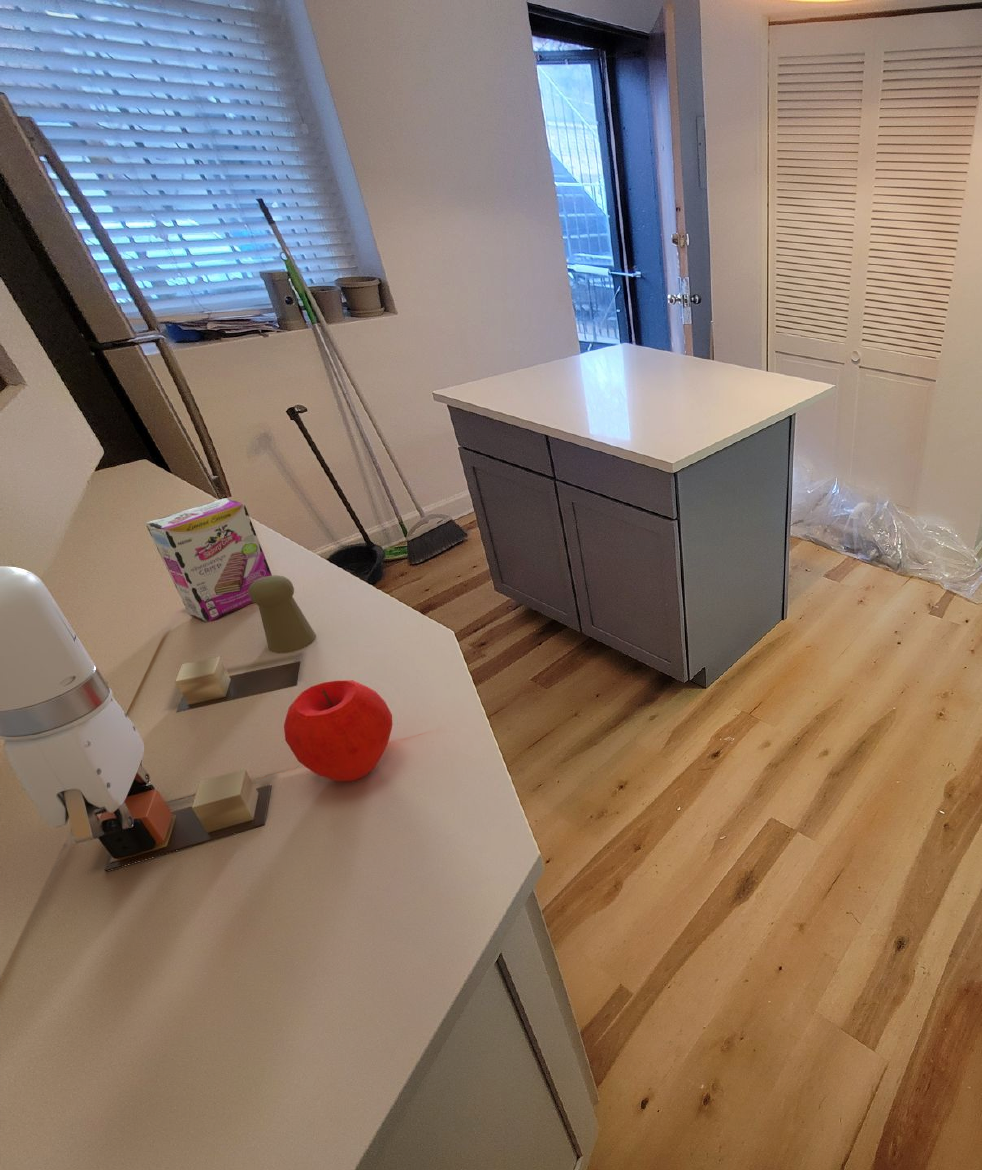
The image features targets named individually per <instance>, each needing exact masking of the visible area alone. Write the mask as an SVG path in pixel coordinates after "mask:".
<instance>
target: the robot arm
mask: <svg viewBox="0 0 982 1170" xmlns="http://www.w3.org/2000/svg"><path fill="white" fill-rule="evenodd" d="M113 696H114V693H113V690H112V689H111V687H110V686H109V684H108V683H107V681H106V680H105V678H104V676H103V675H102V673H101V671H100V670H99V668H98V667H97V665H96V664H95V663H94V661H93V659H92V658H91V656H90V655H89V653H88V652H87V650H86V648H85V647H84V644H83V643H82V642H81V640H80V638H79V637H78V635H77V634H76V632H75V631H74V629H73V628H72V625H71V624H70V623H69V621H68V619H67V618H66V616H65V615H64V613H63V612H62V610H61V608H60V607H59V605H58V604H57V602H56V600H55V599H54V597H53V595H52V594H51V592H50V591H49V589H48V588H47V586H46V585H45V583H44V582H43V581H42V579H41V578H39V577H38V576H37V575H36V574H34V573H33V572H31V571H30V570H27V569H24V568H21V567H15V566H4V565H3V566H0V739H1V740H3V741H4V743H3V749H4V751H5V754H6V757H7V759H8V761H9V764H10V766H11V768H12V770H13V772H14V774H15V776H16V777H17V779H18V781H19V783H20V785H21V786H22V788H23V789H24V791H25V792H26V794H27V796H28V797H29V799H30V800H31V802H32V803H33V805H34V806H35V807H36V809H37V811H38V812H39V813H40V814H41V816H42V818H44V820H45V821H46V823H48V825H50V826H51V827H53V828H56V829H57V828H60V827H62V826H66V825H67V824H68V821H69V823H70V827H71V831H72V837H73V838H74V842H75V843H76V844H81V843H85V842H88V841H89V842H90V841H92V840H96V839H98V841H100V843H101V845H102V846H103V847H104V848H105V849H106V851H107V852H108V853H109V855H110V854H111V856H112V857H113V858H114V859H120V858H123V857H127V856H130V855H134V854H137V853H140V852H144V851H147V850H151V849H153V848H154V847H155V844H156V841H155V840H154V838H153V837H152V836H151V834H150V833H149V831H148V830H147V828H146V827H145V825H144V824H143V823H142V821H141V820H140V818H138V819H133V817H132V815H131V813H130V811H129V810H128V808H127V806H126V804H125V802H124V801H125V799H126V797H128V796H132V795H136V794H139V793H143V792H147V791H151V790H154V789H156V788H155V786H154V785H153V783H151V776H150V773H148V772H147V770H146V769H145V768H144V767H143V765H142V762H143V758H144V754H145V744H144V741H143V738H142V737H141V735H140V732H139V731H138V729H137V728H136V726H135V725H134V723H133V722H132V719H130V718H129V716H128V715H127V713H126V712H125V710H124V709H123V708H122V707H121V706H120V704H119V703H118V702H117V700H116V699H115V698H114V697H113ZM150 783H151V784H150ZM105 812H110V813H113V812H114V814H115V816H116V818H112V819H107V820H103V821H100V819H99V818H100V816H98V815H101V814H102V813H105Z"/></svg>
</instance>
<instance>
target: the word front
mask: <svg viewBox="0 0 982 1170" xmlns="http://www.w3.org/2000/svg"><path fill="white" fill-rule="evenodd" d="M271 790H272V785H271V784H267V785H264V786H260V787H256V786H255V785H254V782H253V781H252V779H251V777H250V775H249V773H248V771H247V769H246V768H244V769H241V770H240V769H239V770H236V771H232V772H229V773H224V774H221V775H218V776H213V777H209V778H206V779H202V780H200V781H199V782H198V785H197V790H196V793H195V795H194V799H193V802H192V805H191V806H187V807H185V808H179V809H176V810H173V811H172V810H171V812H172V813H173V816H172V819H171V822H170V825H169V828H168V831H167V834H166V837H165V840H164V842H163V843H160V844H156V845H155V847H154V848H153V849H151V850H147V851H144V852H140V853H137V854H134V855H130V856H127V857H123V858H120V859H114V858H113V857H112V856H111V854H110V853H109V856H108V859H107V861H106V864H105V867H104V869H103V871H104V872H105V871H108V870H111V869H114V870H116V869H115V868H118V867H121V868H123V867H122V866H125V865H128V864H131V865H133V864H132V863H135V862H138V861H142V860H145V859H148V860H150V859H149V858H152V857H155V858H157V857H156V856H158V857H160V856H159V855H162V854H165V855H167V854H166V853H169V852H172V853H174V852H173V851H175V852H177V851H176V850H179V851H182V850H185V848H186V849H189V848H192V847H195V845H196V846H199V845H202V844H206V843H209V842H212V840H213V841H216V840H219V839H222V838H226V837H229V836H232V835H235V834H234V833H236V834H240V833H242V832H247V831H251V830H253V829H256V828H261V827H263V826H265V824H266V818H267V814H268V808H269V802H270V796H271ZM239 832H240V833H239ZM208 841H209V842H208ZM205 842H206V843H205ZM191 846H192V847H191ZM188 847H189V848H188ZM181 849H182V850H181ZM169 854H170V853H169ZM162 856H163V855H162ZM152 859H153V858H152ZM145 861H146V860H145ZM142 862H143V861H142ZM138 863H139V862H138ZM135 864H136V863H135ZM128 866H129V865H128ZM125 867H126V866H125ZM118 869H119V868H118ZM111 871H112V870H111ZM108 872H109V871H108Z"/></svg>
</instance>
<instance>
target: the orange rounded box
mask: <svg viewBox="0 0 982 1170" xmlns="http://www.w3.org/2000/svg"><path fill="white" fill-rule="evenodd" d="M124 802H125V804H126V806H127V808H128V810H129V811H130V813H131V815H132V817H133V819H138V818H140V820H141V821H142V823H143V824H144V825H145V827H146V828H147V830H148V831H149V833H150V834H151V836H152V837H153V838H154V840H155V841H156V844H160V843H163V842H164V840H165V837H166V834H167V831H168V828H169V825H170V822H171V819H172V816H173V813H172V810H171V809H170V807H169V805H168V803H166V801H165V800H164V798H163V797H162V795H161V793H160V792H159V790H158V789H157V788H155V789H154V790H151V791H147V792H143V793H139V794H136V795H132V796H128V797H126V799H125V801H124ZM112 818H116V816H115V814H114V812H113V813H110V812H105V813H101V814H100V816H99V819H100V821H103V820H107V819H112ZM156 844H155V845H156Z"/></svg>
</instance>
